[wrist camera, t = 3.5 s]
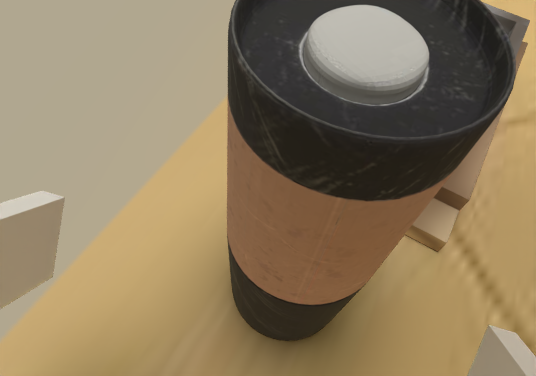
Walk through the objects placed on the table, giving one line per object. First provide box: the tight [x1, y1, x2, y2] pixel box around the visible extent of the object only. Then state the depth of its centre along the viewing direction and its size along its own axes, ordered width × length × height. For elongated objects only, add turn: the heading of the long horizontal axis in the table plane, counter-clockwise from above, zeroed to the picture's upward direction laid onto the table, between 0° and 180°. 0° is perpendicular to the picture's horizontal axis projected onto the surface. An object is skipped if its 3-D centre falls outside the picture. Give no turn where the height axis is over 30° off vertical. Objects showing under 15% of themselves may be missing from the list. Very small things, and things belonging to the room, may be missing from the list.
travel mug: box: [227, 0, 516, 341], centre depth 19 cm, size 8×8×20 cm
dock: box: [405, 2, 530, 252], centre depth 35 cm, size 16×23×5 cm
